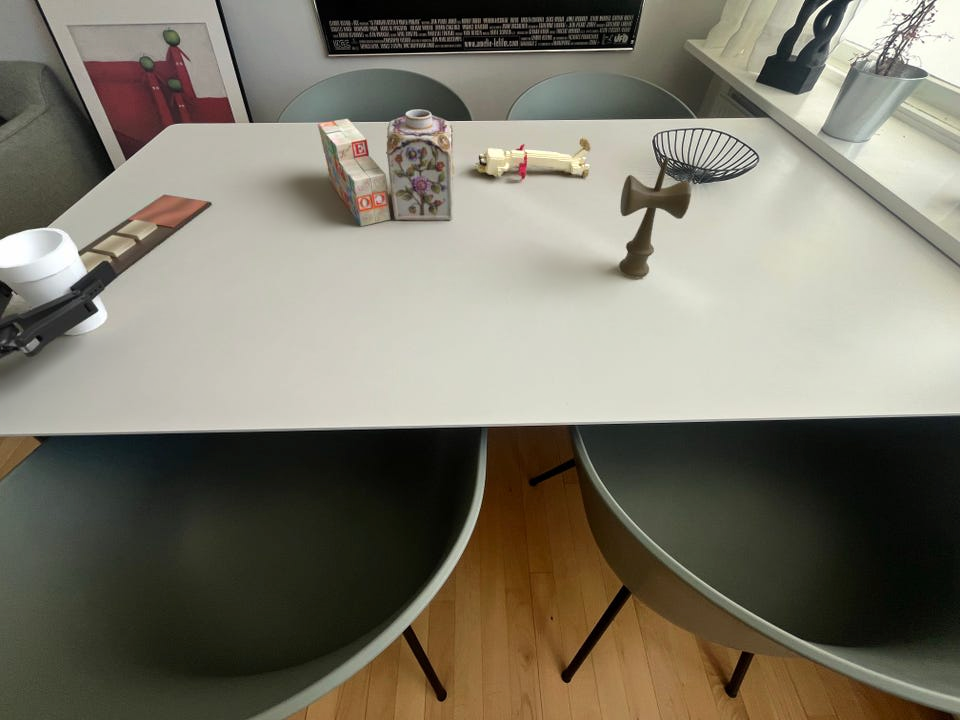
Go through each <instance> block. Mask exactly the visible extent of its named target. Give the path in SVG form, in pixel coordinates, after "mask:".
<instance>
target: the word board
mask: <svg viewBox="0 0 960 720" xmlns="http://www.w3.org/2000/svg"><path fill="white" fill-rule="evenodd" d="M212 205H213V203H212V201H209V200H202V199H201V200H200V199H195V198H189V197H183V196H177V195H176V196H175V195H171V194H163V195H161V196H159V197H158V198H157V199H155V200H154V201H152V202H151V203H149V204H148V205H146V206H144V207H143V208H142V209H140V210H139V211H137V212H136V213H134V214H133V215H131V216H129V217H128V218H127V219H125V220H123V221H122V222H120V223H119V224H117V225H116V226H114V227H113V228H111V229H110V230H108V231H107V232H105V233H104V234H102V235H101V236H99V237H98V238H96V239H95V240H93V241H92V242H91V243H89V244H87V245H86V246H84V247H83V248H81V249H80V250H78V254H79V256H80V258H81V260H82V262H83V264H84V266H85V268H86V270H87V272H88V273H89V272H90V271H91V270H92V269H94V268H95V267H96V266H97V265H99V264H100V263H101V262H102V261H108V262H109V263H110V265H111V266H112V268H113V269H114V271H115V272H116V274H117V275H118V277H119V276H120V275H121V274H123V273H125V271H127V270H128V269H130V268H131V267H132V266H133V265H134V264H136V263H138V262H139V261H140V260H141V259H142V258H144V257H145V256H147V255H148V254H149V253H151V252H152V251H153V250H154V249H155V248H157V247H158V246H160V245H161V244H163V243H164V242H165V241H167V240H168V239H169V238H170V237H172V236H173V235H174V234H175V233H177V232H178V231H179V230H181V229H182V228H183V227H184V226H186V225H187V224H189V223H190V222H191V221H193V220H194V219H195V218H197V217H198V216H199V215H201V214H202V213H204V211H206V210H207V209H208V208H210V207H211V206H212Z"/></svg>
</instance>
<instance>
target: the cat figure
mask: <svg viewBox="0 0 960 720" xmlns="http://www.w3.org/2000/svg"><path fill="white" fill-rule="evenodd" d="M525 145H526V144H525V143H523V144H521V145H520V146H519V148H515V149H511V150H505V151H504V150H503V149H501V148H491V147H489V148H487V149H486V150H485V153H480V154H479V155H478V161H479V162H476V163H475V169H477V171H478V172H479V173H486V174H487V175H491V176H492V175H493V177H496V178H497V177H499V178H501V177H502V174H504V172H507V171H508V170H509V169H514V168H518V176H521V180H524V179H525V177H526V176H527V169H528V168H529V167H531V168H543V169H544V168H545V169H551V170H552V171H564V173H571V174H570V175H578V174H579V173H581V177H582V176H583V177H582V178H584V177H589V174H590V173H589V171H590V164H589V163H586V162H587V157H586V156H585V155H586V154H587V153H589V152H590V151H591V149H592V148H591V144H590V141H588V139H587V138H586V137H582V138H580V139H579V145H580V147H581V148H580V150H578V151H576V152H575V153H573V155H572V154H568V153H567V154H566V153H559V152H558V151H549V150H547V151H546V150H535V149H525V148H524V147H525ZM523 149H524V150H523ZM519 168H520V169H519Z"/></svg>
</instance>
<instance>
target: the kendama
mask: <svg viewBox="0 0 960 720" xmlns="http://www.w3.org/2000/svg"><path fill="white" fill-rule="evenodd" d="M668 165H669V156H665V157H664V159H663V161H662V163H661V167H660V170H659V173H658V176H657V179H656V181H655V185H654V187H650V186H646V184H645V185H644V184H643V183H642V182H641V181H640V180H639V179H637V178H636V177H635V176H634V175H632V174H629V175H628V176H626V179H625V180H624V183H623V187H622V190H621V196H620V205H619V206H620V214H621V217H627V216H630V215H632V214H634V213H636V212H638V211H639V210H642V209H646V210H645V213H644V216H643V217H642V220H641V222H640V224H639V227H638V229H637V231H636V233H635V235H634V237H633V238H632V240H629V241H628V242H626V245H625V249H626V251H627V253H626V255H625V256H624V258H622V259H621V260H620V261H619V263H618V268H619V271H620V272H621V273H622V274H623V275H625V276H627V277H631V278H643V277H646V276H647V275H648V274H649V273H650V266H649V265H648V263H647V262H648V259H649V257H650V256H652V255H653V254H654V252H655V248H654V245H652V233H653V227H654V221H655V216H656V211H657V209H659V210H662V211H665V212H666V213H668V214H669V215H671V216H672V217H674V218H675V219H678V220H679V219H683V218H684V216H685V215H686V213H687V211H688V209H689V206H690V204H691V197H692V186H691V183H690V181H688V180H683V181H680V182H677V183H675V184H673V185H670V186H667V187H663V183H664V180H665V176H666V172H667V169H668Z"/></svg>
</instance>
